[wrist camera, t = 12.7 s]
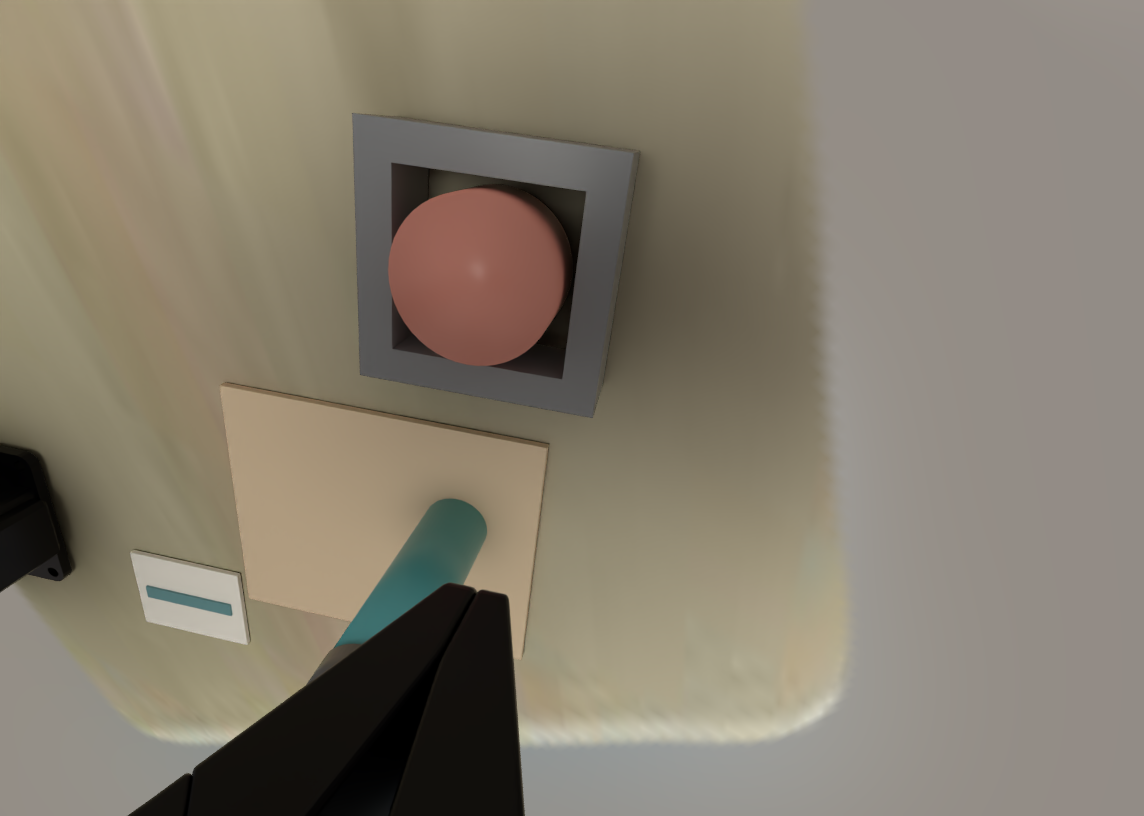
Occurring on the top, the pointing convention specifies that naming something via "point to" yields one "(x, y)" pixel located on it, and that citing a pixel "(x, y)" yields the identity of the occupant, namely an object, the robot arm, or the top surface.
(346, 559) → the beige rectangular board
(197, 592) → the card
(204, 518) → the top surface
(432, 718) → the robot arm
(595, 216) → the button housing
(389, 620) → the marker
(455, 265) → the button
